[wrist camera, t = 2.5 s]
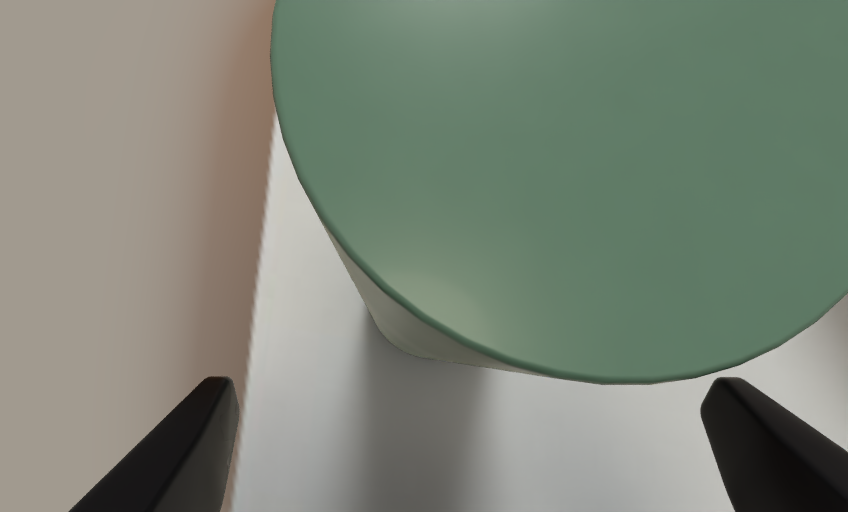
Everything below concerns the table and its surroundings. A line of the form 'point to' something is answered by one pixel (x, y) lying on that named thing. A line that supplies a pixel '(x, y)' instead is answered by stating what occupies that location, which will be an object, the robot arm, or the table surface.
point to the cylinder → (576, 174)
